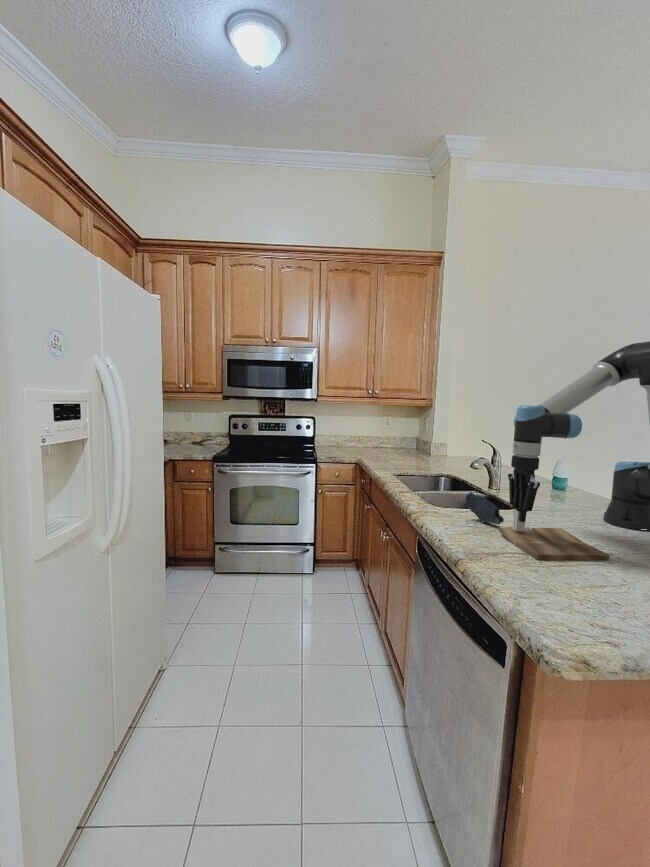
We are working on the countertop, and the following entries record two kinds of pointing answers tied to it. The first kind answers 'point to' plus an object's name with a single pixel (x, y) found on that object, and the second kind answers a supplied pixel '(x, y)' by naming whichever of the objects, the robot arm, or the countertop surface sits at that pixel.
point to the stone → (483, 509)
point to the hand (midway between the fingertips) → (518, 530)
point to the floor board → (562, 551)
